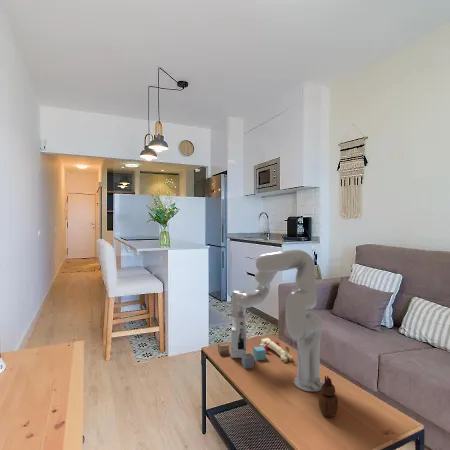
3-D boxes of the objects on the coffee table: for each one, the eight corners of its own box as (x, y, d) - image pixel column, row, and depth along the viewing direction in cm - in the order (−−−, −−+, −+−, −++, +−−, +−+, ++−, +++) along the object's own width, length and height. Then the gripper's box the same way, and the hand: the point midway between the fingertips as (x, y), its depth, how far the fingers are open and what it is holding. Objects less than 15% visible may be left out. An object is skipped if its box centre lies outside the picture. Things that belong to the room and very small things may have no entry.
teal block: (265, 359, 161) (265, 349, 161) (256, 360, 160) (256, 350, 160) (262, 355, 166) (262, 346, 166) (253, 356, 164) (253, 347, 164)
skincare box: (230, 358, 162) (230, 330, 162) (231, 353, 168) (231, 326, 168) (246, 358, 162) (246, 330, 162) (246, 353, 168) (246, 326, 168)
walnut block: (228, 354, 167) (228, 345, 167) (220, 355, 166) (220, 346, 166) (226, 350, 172) (226, 341, 172) (217, 351, 171) (217, 342, 171)
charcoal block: (254, 367, 152) (254, 357, 152) (244, 368, 151) (244, 358, 151) (250, 363, 157) (250, 353, 157) (241, 364, 155) (241, 354, 155)
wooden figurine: (324, 420, 111) (325, 379, 110) (315, 411, 116) (316, 371, 116) (340, 417, 112) (341, 376, 112) (331, 408, 118) (331, 369, 118)
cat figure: (296, 362, 160) (269, 342, 182) (297, 346, 159) (269, 327, 182) (280, 366, 156) (254, 345, 178) (281, 350, 155) (255, 330, 177)
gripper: (250, 317, 157) (250, 352, 157) (240, 308, 174) (240, 339, 174) (236, 318, 155) (236, 353, 156) (227, 309, 172) (227, 341, 172)
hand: (238, 346), depth 165 cm, fingers closed on skincare box, 7 cm apart
